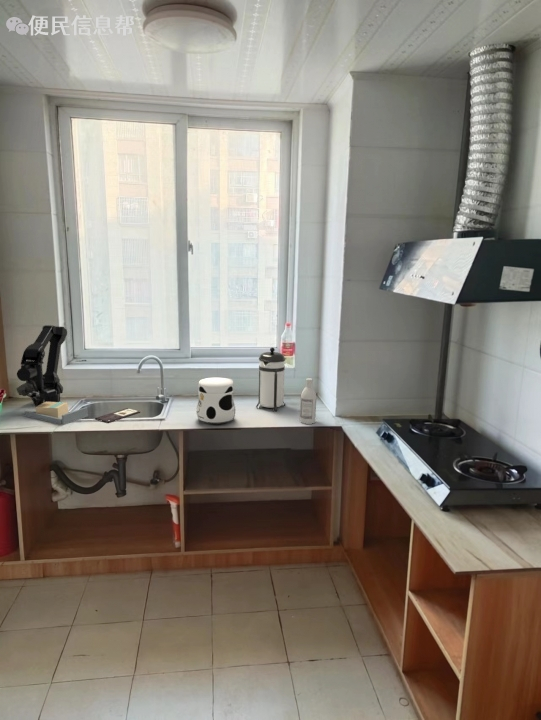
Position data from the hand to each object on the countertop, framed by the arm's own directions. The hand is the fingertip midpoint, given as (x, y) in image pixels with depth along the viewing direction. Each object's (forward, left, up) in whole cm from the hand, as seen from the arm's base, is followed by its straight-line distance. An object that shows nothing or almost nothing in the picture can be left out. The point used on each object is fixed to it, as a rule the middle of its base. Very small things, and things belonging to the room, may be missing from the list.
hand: (38, 409), depth 210 cm
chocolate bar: (-16, +32, -3) cm, 36 cm away
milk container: (-32, +74, -3) cm, 80 cm away
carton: (0, +9, -1) cm, 9 cm away
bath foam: (-50, +111, -3) cm, 122 cm away
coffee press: (-63, +87, -3) cm, 107 cm away
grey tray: (0, +12, -3) cm, 12 cm away
